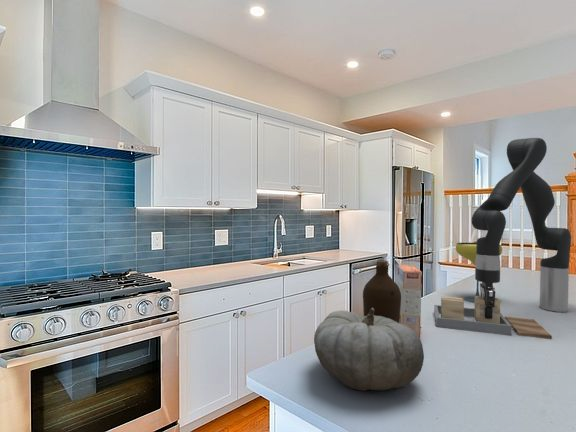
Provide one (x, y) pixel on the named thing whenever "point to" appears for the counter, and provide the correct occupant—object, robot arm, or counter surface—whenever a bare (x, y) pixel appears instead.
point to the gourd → (368, 350)
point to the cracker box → (410, 296)
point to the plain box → (452, 308)
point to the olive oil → (382, 294)
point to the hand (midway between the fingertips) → (486, 315)
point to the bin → (472, 323)
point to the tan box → (480, 311)
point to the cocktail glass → (470, 253)
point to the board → (528, 327)
